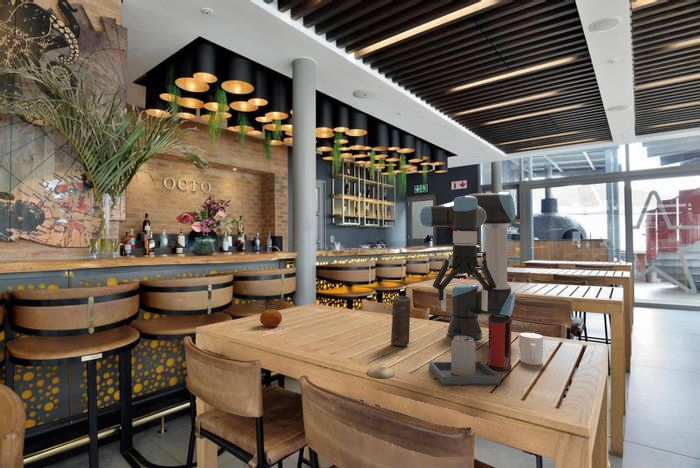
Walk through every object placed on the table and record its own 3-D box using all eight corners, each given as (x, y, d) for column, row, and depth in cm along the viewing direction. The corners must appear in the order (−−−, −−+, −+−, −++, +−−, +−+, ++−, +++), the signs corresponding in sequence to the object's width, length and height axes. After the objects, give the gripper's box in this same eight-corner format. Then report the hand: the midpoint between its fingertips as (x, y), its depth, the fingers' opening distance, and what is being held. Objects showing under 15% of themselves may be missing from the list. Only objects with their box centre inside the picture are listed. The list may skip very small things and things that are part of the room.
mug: (517, 331, 145) (540, 333, 142) (517, 355, 144) (540, 358, 142) (521, 339, 133) (546, 341, 131) (521, 365, 133) (546, 368, 131)
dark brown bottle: (411, 344, 157) (412, 296, 157) (406, 349, 150) (407, 299, 150) (394, 342, 160) (395, 295, 160) (388, 346, 153) (389, 297, 154)
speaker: (499, 372, 125) (500, 318, 125) (482, 365, 132) (483, 314, 132) (516, 370, 128) (517, 317, 128) (499, 362, 135) (499, 312, 136)
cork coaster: (391, 368, 128) (391, 366, 128) (397, 378, 119) (397, 376, 119) (365, 368, 127) (365, 366, 127) (369, 378, 118) (369, 376, 118)
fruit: (279, 329, 178) (279, 312, 178) (257, 329, 178) (257, 312, 179) (283, 324, 189) (283, 308, 189) (263, 323, 189) (263, 307, 189)
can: (476, 380, 117) (477, 341, 117) (451, 378, 118) (452, 339, 118) (473, 371, 124) (474, 335, 124) (450, 369, 126) (450, 333, 126)
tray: (480, 368, 129) (480, 361, 129) (500, 385, 115) (500, 376, 115) (429, 369, 128) (429, 361, 128) (442, 385, 114) (442, 377, 114)
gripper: (496, 244, 126) (496, 307, 126) (423, 243, 124) (422, 308, 124) (507, 245, 119) (507, 312, 119) (430, 244, 117) (429, 312, 117)
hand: (464, 310), depth 122 cm, fingers open, 13 cm apart
